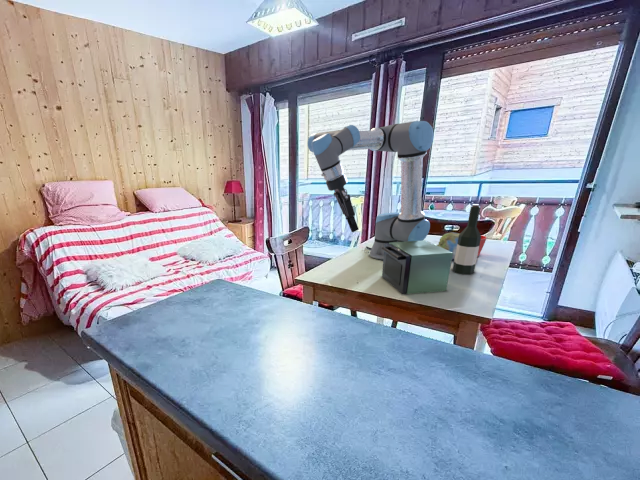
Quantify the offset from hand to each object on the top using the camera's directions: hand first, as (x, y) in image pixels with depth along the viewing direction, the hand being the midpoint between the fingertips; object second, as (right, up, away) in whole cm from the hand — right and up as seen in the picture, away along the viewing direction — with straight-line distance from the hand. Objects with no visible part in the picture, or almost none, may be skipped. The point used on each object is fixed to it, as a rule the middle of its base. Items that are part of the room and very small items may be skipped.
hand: (355, 230), depth 133 cm
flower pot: (+72, -6, +38) cm, 82 cm away
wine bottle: (+54, -16, +16) cm, 59 cm away
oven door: (+17, -22, +6) cm, 29 cm away
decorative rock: (+59, -8, +34) cm, 68 cm away
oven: (+27, -22, +6) cm, 35 cm away
